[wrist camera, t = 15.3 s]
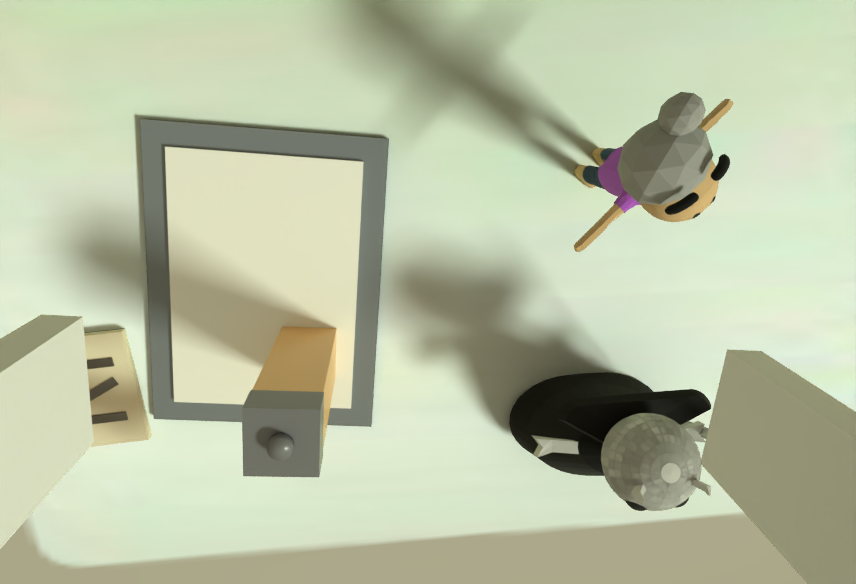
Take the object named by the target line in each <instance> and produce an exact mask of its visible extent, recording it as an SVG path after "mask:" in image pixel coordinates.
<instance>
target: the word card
mask: <svg viewBox="0 0 856 584" xmlns="http://www.w3.org/2000/svg"><path fill="white" fill-rule="evenodd" d="M84 336H85V348H86V359H87V371H88V382H89V394H90V405H91V417H92V428H93V439H94V443H93V444H92V445H91V446H90V447H92V446H100V445H108V444H117V443H125V442H133V441H142V440H149V438H150V437H151V436H152V435H151V431H150V427H149V423H148V419H147V415H146V411H145V407H144V403H143V399H142V395H141V391H140V387H139V383H138V379H137V375H136V371H135V367H134V363H133V359H132V355H131V351H130V347H129V342H128V339H127V334H126V330H125V329H118V330H109V331H100V332H91V333H84Z"/></svg>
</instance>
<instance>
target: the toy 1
mask: <svg viewBox="0 0 856 584" xmlns="http://www.w3.org/2000/svg"><path fill="white" fill-rule="evenodd" d="M732 105H733V102H732V101H731V100H730V99H725V100H724V101H722V102H721V103H720V104H719V105H718V106H717V107H716V108H715V109H714V110H713V111H712V112H711V113H710V114H709V115H708V116H707V117H705V118H704V119H703V117H704V114H705V107H704V104H703V101H702V99H701V98H700V97H698V96H697V95H696V94H694V93H685V92H680V93H679V94H677V95H675V96H673V97H671V98H670V99H668V100H667V101H666V102H665V103H664V104H663V105H662V106H661V109H660V112H659V116H658V120H656V121H654V122H652V123H650V124H648V125H646V126H644V127H642V128H641V129H639V130H638V131H637V132H636V133H635V134H634V135H633V136H632V137H631V138H630V139H629V140H628V141H627V142H626V143H625V144H624V145H623V147H620V148H617V149H611V148H607V149H605V148H597V149H595V150H593V152H592V155H593V157H594V158H595V160H596V161H597V163H598V164H599V165H600V167H594V166H584V165H579V166H577V168H576V169H575V175H576V177H577V178H578V179H580V180H581V181H582V182H583V183H584V184H585V185H586V186H588V187H590V188H593V187H595V186H597V187H600V188H603V189H605V190H607V191H608V192H609V193H611V194H613V195H615V196H618V198H617V199H616V201H615V202H614V205H613V206H612V207H611V208H610V210H609V211H608V212H607V213H606V214H605V215H604V216H603V217H602V218H601V219H600V220H599V221H598V222H597V223H596V224H595V225H594V226H593V227H592V228H591V229H590V230H589V231H588V232H587V233H586V234H585V235H584V236H583V237H582V238H581V239H580V240H579V241H578V242H576V243H575V245H574V249H575V251H576V252H580V251H582V250H583V249H585V248H586V247H587V246H588V245H589V244H590V243H592V242H593V241H594V240H595V239H596V238H597V237H598V236H599V235H600V234H601V233H602V232H603V231H604V230H605V229H606V228H607V226H608V225H609V224H610V223H611V222H612V221H613V220H615V219H616V218H617V217H619V216H620V215H621V214H623V213H625V212H626V211H627V210H629V209H630V208H632V207H634V206H635V205H642V207H643V208H644V209H645V210H646V211H647V212H648V213H650V214H651V215H652V216H654V217H656V218H658V219H661V220H664V221H669V222H679V221H685V220H689V219H693V218H695V217H697V216H698V215H700V214H701V213H702V212H703V211H704V210H705V209H706V208H707V207H708V206H709V205H710V204H711V203H712V202H713V201H714V199H715V196H716V193H717V188H718V181H719V180H720V179H721V178H722V177H723V176H724V174H725V173H726V172H727V170H728V168H729V165H730V159H729V157H728V156H727V155H725V154H723V155H721V156H720V157H719V162H718V164H717V166H716V167H715V165H714V163H713V161H712V160H711V159H712V156H713V153H712V150H711V147H710V144H709V141H708V137H707V134H706V132H707V131H708V130H709V129H710V128H711V127H712V126H713V125H714V124H715V123H716V122H717V121H718V120H719V119H720V118H721V117H722V116H723V115H725V114H726V113H727V112H728V111H729V110H730V108H731V107H732Z"/></svg>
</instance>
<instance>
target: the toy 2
mask: <svg viewBox="0 0 856 584" xmlns="http://www.w3.org/2000/svg"><path fill="white" fill-rule="evenodd" d="M710 409H711V404H710V401H709V400H708V398H707V397H706V396H705V395H704V394H703V393H701V392H699V391H697V390H693V389H689V390H675V391H662V392H653V391H652V390H651V389H650V388H649V387H648V386H646V385H645V384H643V383H642V382H640V381H638V380H636V379H634V378H631V377H628V376H625V375H621V374H615V373H585V374H575V375H566V376H558V377H555V378H551V379H548V380H545V381H543V382H541V383H539V384H536V385H535V386H533V387H532V388H530V389H529V390H527V391H526V392H525V393H524V394H523V395H522V396H521V397H520V398H519V399H518V400H517V402H516V403H515V404H514V406H513V408H512V411H511V414H510V428H511V432H512V434H513V436H514V438H515V439H516V441H517V442H518V443H519V444H520V445H521V446H522V447H523V448H525V449H526V450H527V451H529V452H530V453H532V454H533V455H534V456H536V457H537V458H539V459H540V460H542V461H543V462H545V463H546V464H548V465H549V466H551V467H553V468H555V469H558V470H560V471H563V472H567V473H571V474H577V475H586V476H605V478H606V480H607V482H608V484H609V485H610V487H611V488H612V489H613V491H614V492H615V493H616V494H617V495H618V496H619V497H620V498H621V499H623V500H624V501H626V503H627V504H628V505H629V506H630V507H631V508H633V509H635V510H638V511H644V510H650V511H662V510H668V509H671V508H674V507H681V506H683V505H684V504H686V502H687V501H688V499H689V497H690V496H691V495H692V493H693V492H694V490H695V489H696V487H697V488H699V489H701V490H703V491H705V492H706V493H707V494H708V495H709V496H711V487H710V486H709V485H707V484H705V483H703V482H700V481H699V480H700V475H701V457H700V452H699V450H698V447H697V445H696V443H695V441H698V442H705V440H704V439H703V438H705V439H706V438H707V434H708V430H709V429H708V428H706V427H704V425H705V424H703V423H701V422H699V421H697V422H694V423H692V422H689V420H691V419H693V418H695V417H697V416H698V415H700V414H702V413H704V412H706V411H708V410H710ZM702 437H703V438H702Z"/></svg>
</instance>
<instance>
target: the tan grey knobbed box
mask: <svg viewBox="0 0 856 584" xmlns="http://www.w3.org/2000/svg"><path fill="white" fill-rule="evenodd" d="M336 336H337V328H314V327H287V326H282V328H281V330H280V332H279V334H278V336H277V339H276V341H275V343H274V345H273V347H272V349H271V351H270V353H269V355H268V358H267V360H266V362H265V364H264V366H263V368H262V370H261V372H260V374H259V377H258V379H257V381H256V383H255V385H254V387H253V389H252V390H250V392H249V394H248V397H247V399H246V401H245V403H244V405H243V407H242V432H243V476H272V477H319V475H320V469H321V464H322V458H323V446H324V440H325V434H326V429H327V423H328V417H329V412H330V406H331V400H332V394H333V389H334V383H335V375H336Z"/></svg>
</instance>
